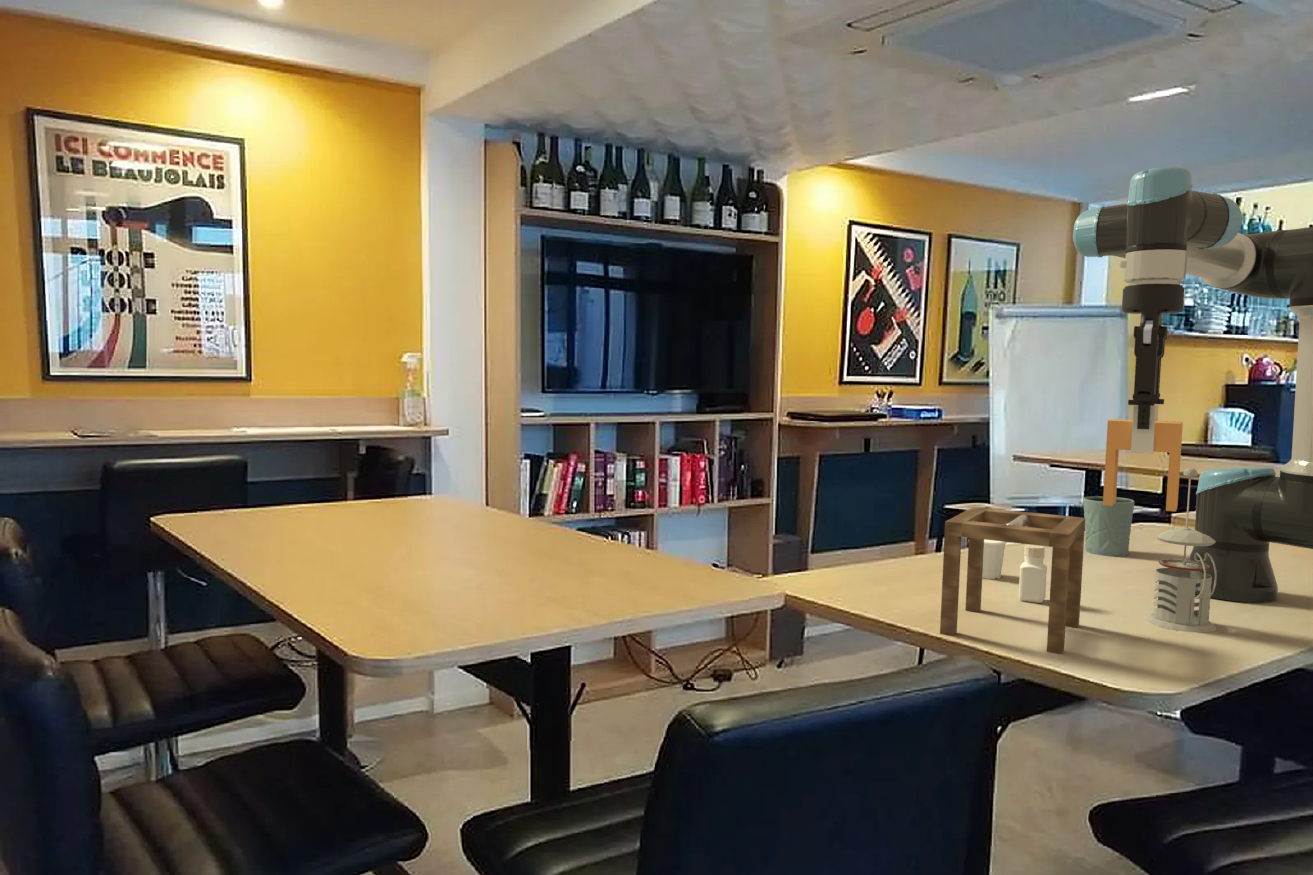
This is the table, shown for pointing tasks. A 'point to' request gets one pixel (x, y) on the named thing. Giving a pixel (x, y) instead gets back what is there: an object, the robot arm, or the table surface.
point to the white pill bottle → (1033, 575)
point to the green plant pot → (1107, 526)
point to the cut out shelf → (1025, 530)
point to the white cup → (993, 558)
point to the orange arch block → (1164, 441)
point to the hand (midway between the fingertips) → (1143, 451)
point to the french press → (1184, 582)
